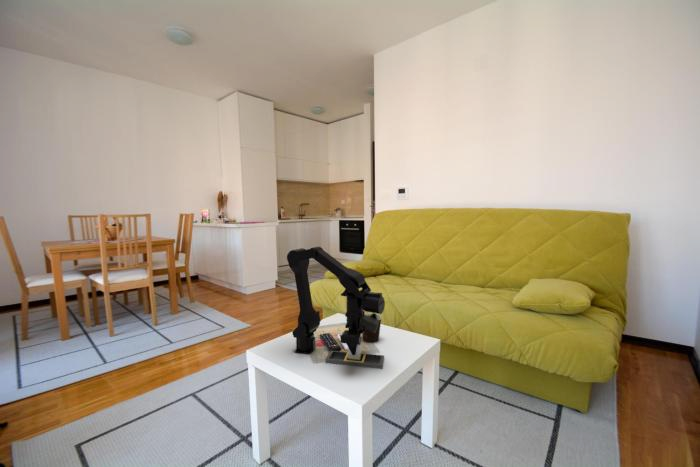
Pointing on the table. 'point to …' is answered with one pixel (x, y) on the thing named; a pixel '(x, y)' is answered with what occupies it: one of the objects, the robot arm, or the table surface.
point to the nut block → (358, 352)
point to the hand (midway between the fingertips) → (355, 351)
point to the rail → (365, 360)
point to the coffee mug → (370, 336)
